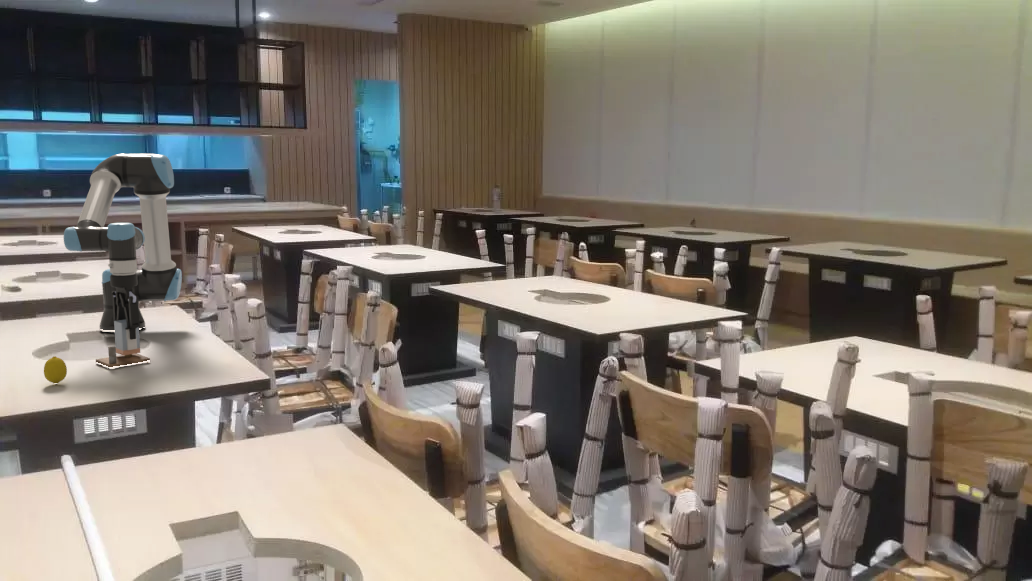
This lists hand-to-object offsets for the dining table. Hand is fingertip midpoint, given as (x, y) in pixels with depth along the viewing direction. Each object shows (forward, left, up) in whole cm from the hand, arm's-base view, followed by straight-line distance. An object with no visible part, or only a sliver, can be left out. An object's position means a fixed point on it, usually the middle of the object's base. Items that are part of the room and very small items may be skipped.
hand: (127, 347), depth 252 cm
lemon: (+26, +13, -4) cm, 29 cm away
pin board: (+3, +2, -4) cm, 5 cm away
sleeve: (0, 0, -2) cm, 2 cm away
